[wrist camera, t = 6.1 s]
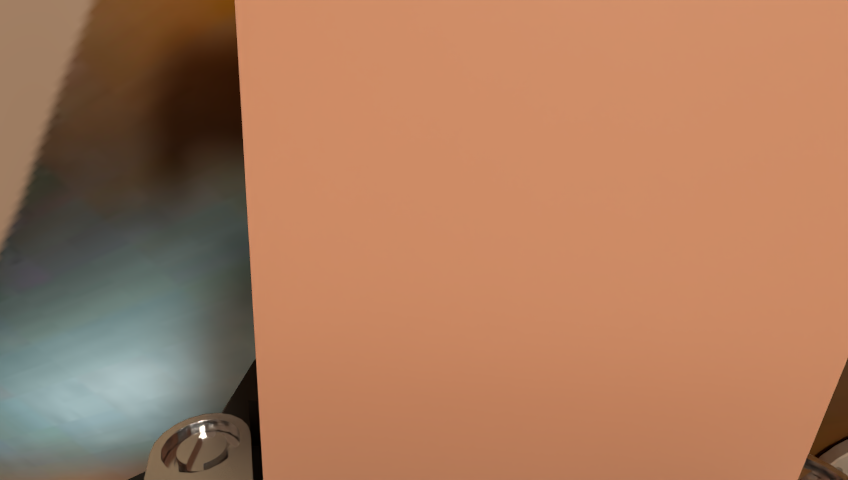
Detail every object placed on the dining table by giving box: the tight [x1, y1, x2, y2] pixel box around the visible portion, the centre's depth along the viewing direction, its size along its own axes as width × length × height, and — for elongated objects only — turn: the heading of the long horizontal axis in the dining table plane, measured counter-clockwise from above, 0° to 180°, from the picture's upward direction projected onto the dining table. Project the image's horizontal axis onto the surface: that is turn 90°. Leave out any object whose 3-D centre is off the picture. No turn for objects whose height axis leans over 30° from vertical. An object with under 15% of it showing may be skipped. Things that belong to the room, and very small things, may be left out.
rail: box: [235, 0, 848, 480], centre depth 9 cm, size 25×6×7 cm, turn 176°
